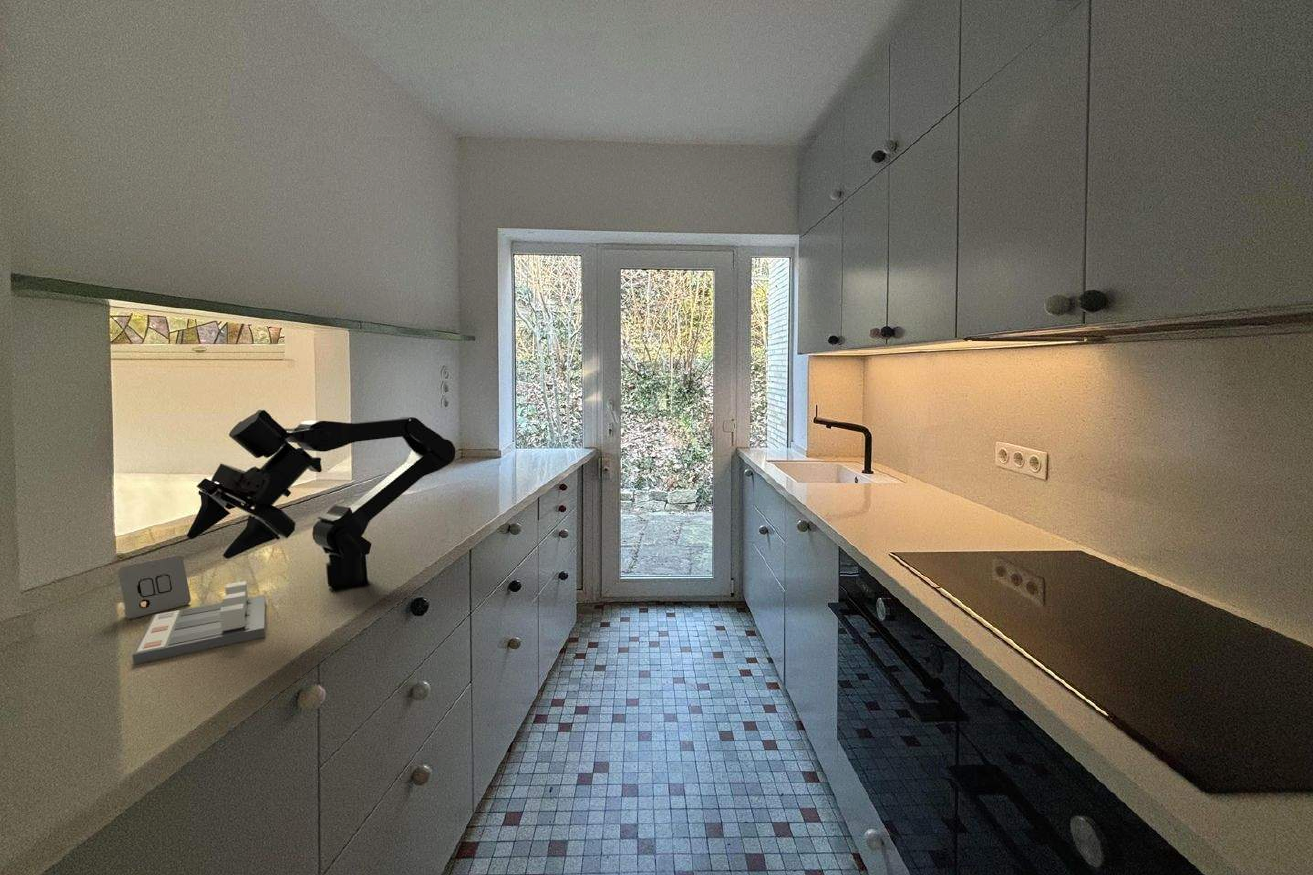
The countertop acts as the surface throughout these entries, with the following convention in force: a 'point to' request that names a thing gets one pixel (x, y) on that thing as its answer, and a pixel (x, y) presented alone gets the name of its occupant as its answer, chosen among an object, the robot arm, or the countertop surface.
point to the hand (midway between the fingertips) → (206, 547)
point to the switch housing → (197, 630)
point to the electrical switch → (154, 586)
